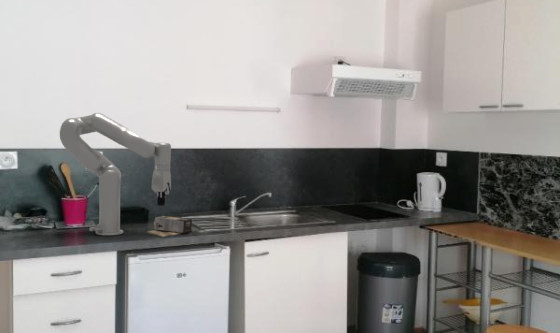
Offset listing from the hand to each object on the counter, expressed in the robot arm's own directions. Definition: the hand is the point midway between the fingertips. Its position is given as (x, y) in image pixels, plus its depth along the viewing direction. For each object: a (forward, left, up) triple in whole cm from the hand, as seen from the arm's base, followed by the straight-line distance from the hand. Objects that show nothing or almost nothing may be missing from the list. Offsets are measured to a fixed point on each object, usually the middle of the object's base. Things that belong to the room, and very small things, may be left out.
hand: (161, 205), depth 259 cm
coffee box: (+3, +5, -10) cm, 11 cm away
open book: (0, -2, -14) cm, 14 cm away
